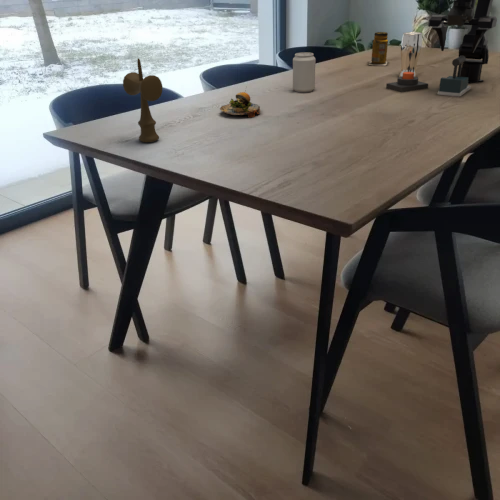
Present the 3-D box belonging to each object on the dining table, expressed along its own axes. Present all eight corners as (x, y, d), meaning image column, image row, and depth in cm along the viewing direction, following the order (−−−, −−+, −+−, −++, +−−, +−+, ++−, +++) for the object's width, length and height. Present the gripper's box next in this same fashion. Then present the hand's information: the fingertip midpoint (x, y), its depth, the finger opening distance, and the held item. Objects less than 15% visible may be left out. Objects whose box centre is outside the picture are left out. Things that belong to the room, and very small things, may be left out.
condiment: (387, 62, 218) (390, 31, 212) (386, 65, 211) (389, 34, 205) (369, 61, 220) (372, 31, 214) (368, 65, 213) (370, 34, 207)
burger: (215, 111, 156) (213, 85, 152) (251, 106, 160) (250, 81, 156) (228, 120, 146) (226, 94, 143) (266, 115, 150) (266, 89, 146)
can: (288, 90, 178) (288, 53, 172) (307, 87, 181) (307, 50, 175) (300, 94, 172) (300, 56, 166) (319, 91, 175) (320, 53, 169)
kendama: (149, 147, 127) (138, 62, 118) (129, 139, 134) (116, 58, 124) (169, 141, 131) (160, 58, 121) (148, 134, 137) (138, 54, 127)
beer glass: (415, 74, 193) (420, 31, 186) (419, 78, 187) (424, 34, 180) (396, 75, 194) (401, 32, 186) (399, 79, 188) (404, 34, 180)
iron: (448, 87, 173) (453, 53, 168) (470, 89, 169) (476, 54, 164) (437, 94, 164) (442, 59, 159) (460, 96, 161) (465, 60, 156)
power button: (408, 77, 174) (409, 71, 173) (415, 79, 172) (416, 73, 171) (399, 78, 173) (400, 72, 172) (407, 80, 170) (407, 74, 169)
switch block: (411, 84, 179) (412, 74, 177) (427, 88, 173) (429, 77, 171) (385, 88, 175) (386, 77, 173) (401, 92, 169) (402, 81, 167)
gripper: (425, -2, 153) (418, 53, 160) (492, -2, 143) (481, 57, 151) (437, -5, 161) (430, 48, 168) (501, -5, 151) (491, 52, 159)
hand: (457, 51), depth 161 cm, fingers open, 9 cm apart
